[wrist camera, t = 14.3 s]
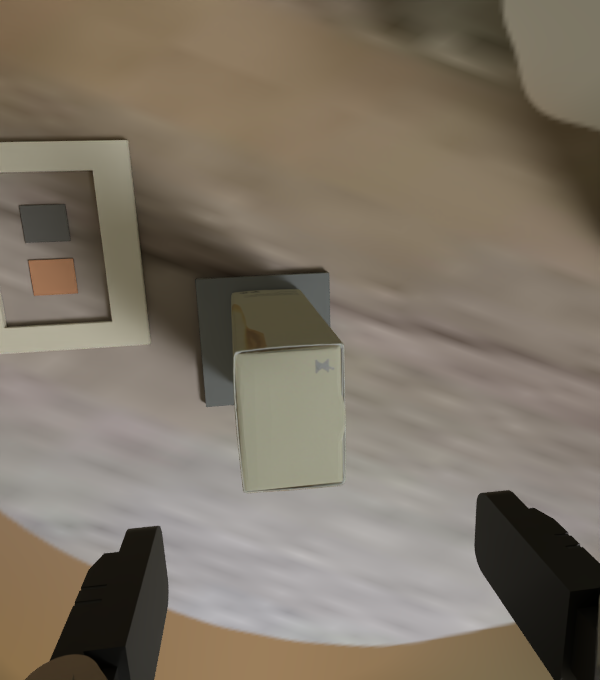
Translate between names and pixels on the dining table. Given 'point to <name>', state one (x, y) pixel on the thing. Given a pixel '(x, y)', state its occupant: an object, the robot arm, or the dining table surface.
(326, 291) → the tile
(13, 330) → the flat square frame
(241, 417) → the skincare box
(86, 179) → the dining table surface
